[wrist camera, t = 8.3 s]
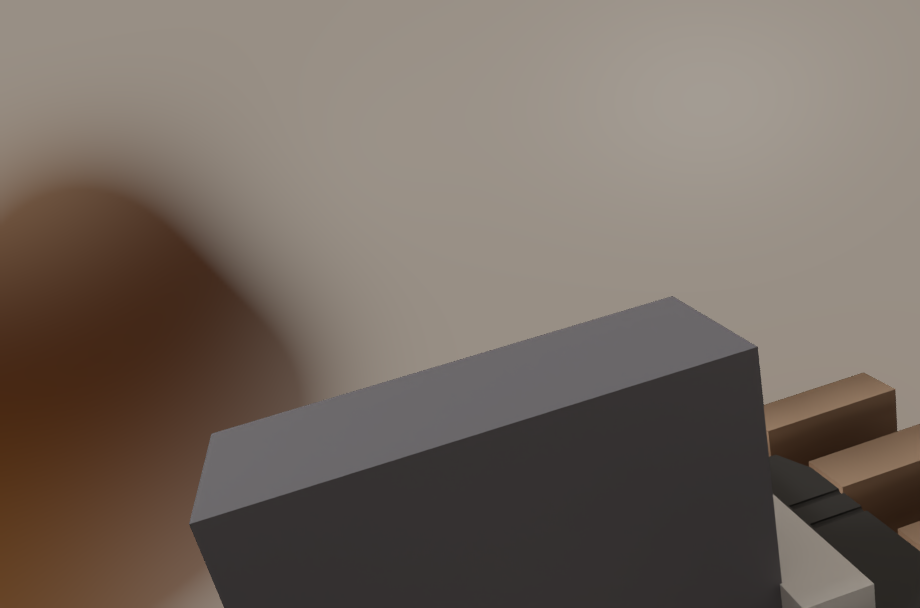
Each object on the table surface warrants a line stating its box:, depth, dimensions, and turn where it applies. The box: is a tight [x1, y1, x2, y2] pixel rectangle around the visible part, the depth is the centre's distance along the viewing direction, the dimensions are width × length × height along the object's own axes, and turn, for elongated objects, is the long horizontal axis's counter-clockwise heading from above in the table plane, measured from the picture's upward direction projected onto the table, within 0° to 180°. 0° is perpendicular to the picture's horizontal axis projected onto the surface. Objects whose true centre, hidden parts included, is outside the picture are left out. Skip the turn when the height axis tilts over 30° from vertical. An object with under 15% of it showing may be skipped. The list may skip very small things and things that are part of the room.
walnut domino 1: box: [764, 373, 897, 467], centre depth 29 cm, size 2×5×10 cm, turn 101°
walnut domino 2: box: [809, 424, 920, 534], centre depth 25 cm, size 2×5×10 cm, turn 102°
